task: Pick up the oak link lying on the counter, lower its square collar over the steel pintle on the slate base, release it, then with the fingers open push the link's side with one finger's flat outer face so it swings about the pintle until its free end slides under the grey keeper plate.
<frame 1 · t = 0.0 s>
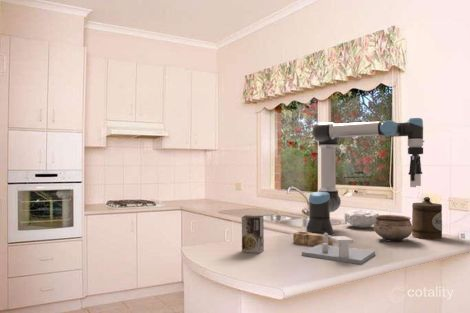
hand: (415, 186, 208), 28 cm above the worktop, tool pointing down, fingers open, 13 cm apart
cooking pot: (392, 240, 204), on the worktop
coffee box: (252, 251, 179), on the worktop
link: (317, 244, 193), on the worktop
bowl: (361, 227, 244), on the worktop
wooden container: (426, 237, 213), on the worktop
pintle base: (325, 250, 181), on the worktop
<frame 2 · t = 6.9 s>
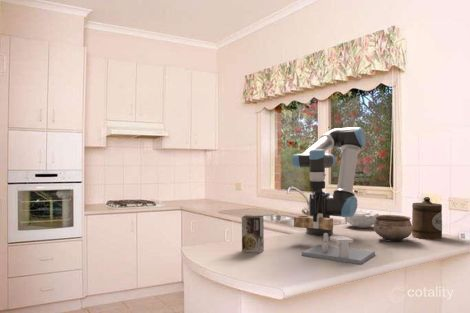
hand: (318, 227, 193), 9 cm above the worktop, tool pointing down, fingers closed on link, 4 cm apart
link: (318, 227, 193), point 8 cm above the worktop, touching gripper
everything else where it was.
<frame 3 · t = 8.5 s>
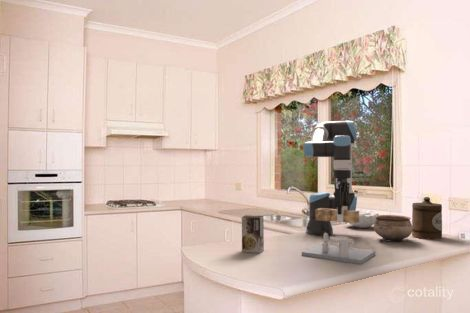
hand: (342, 220, 176), 14 cm above the worktop, tool pointing down, fingers closed on link, 4 cm apart
link: (342, 221, 176), point 14 cm above the worktop, touching gripper
everything else where it was.
when the fingers open (2 cm above the worktop, at t = 10.4 s): link stays where it is, resting on pintle base.
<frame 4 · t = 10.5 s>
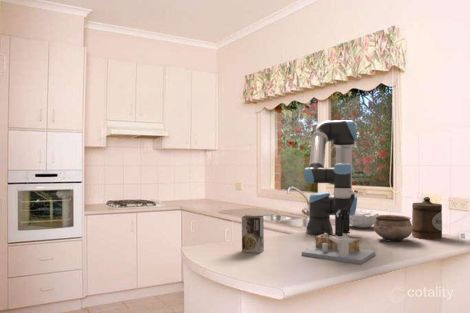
hand: (342, 248, 176), 2 cm above the worktop, tool pointing down, fingers open, 5 cm apart
link: (342, 249, 176), point 1 cm above the worktop, touching gripper, pintle base
everything else where it was.
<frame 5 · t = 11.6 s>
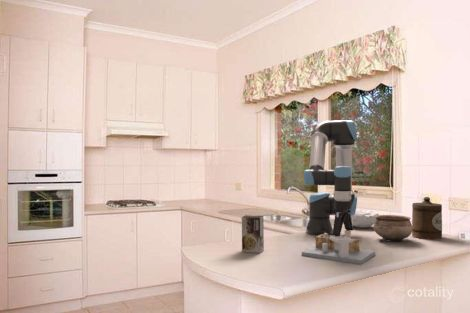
hand: (343, 247, 177), 2 cm above the worktop, tool pointing down, fingers open, 12 cm apart
link: (342, 249, 176), point 1 cm above the worktop, touching pintle base
everything else where it was.
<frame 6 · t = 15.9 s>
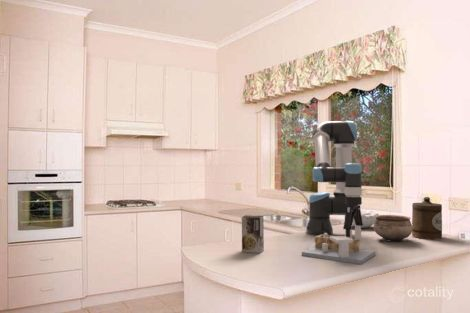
hand: (353, 241, 182), 4 cm above the worktop, tool pointing down, fingers open, 13 cm apart
link: (342, 249, 176), point 2 cm above the worktop
everything else where it was.
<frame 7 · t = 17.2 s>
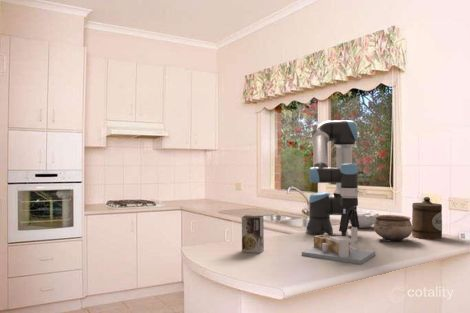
hand: (349, 243, 178), 4 cm above the worktop, tool pointing down, fingers open, 13 cm apart
link: (335, 251, 173), point 2 cm above the worktop, touching gripper, pintle base
everything else where it was.
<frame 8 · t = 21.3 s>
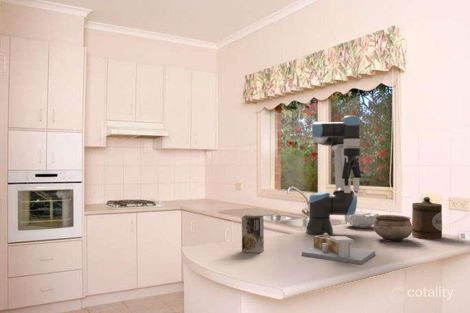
hand: (351, 191, 187), 27 cm above the worktop, tool pointing down, fingers open, 13 cm apart
link: (335, 251, 173), point 1 cm above the worktop, touching pintle base
everything else where it was.
at the end: link 0.7 cm from the target spot on the pintle base, point 1.5 cm above the pintle base's base; link tilted 0°; the gripper is holding nothing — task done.
